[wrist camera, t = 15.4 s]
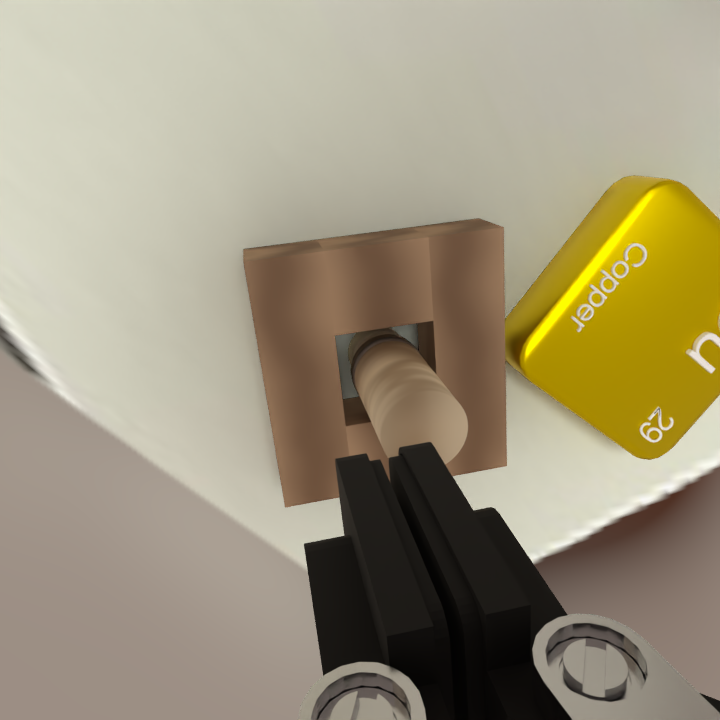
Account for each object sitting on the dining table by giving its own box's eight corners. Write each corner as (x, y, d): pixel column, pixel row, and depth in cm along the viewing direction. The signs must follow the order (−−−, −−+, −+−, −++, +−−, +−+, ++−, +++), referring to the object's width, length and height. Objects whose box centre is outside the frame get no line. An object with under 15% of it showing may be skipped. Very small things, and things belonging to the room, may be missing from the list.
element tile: (625, 161, 40) (673, 164, 36) (755, 287, 45) (811, 304, 41) (482, 343, 43) (510, 367, 38) (620, 443, 48) (659, 474, 43)
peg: (406, 315, 40) (467, 383, 29) (410, 377, 42) (470, 464, 31) (339, 325, 40) (376, 398, 29) (346, 387, 42) (384, 480, 30)
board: (478, 218, 39) (503, 227, 35) (484, 438, 45) (506, 465, 41) (243, 249, 37) (243, 262, 33) (281, 475, 43) (285, 507, 39)
